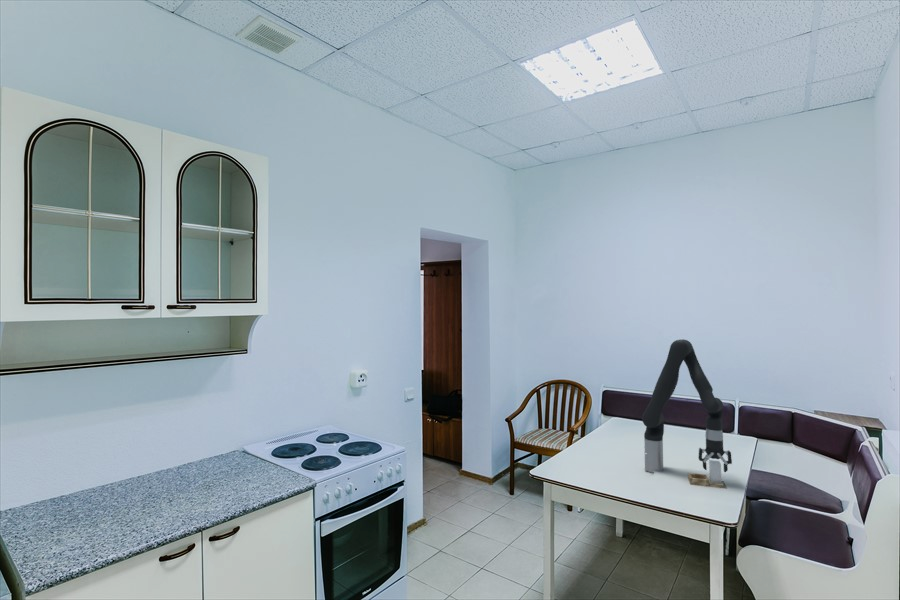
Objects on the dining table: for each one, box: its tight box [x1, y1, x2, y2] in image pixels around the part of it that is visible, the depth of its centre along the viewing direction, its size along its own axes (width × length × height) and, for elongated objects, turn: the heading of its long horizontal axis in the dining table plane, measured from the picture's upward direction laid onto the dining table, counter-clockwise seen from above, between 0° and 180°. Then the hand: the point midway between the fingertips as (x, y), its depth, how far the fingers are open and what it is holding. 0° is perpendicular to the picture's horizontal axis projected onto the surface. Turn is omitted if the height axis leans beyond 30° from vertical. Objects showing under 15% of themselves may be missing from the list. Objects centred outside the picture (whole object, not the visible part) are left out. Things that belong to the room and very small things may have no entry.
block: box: [708, 459, 722, 484], centre depth 224 cm, size 4×4×10 cm
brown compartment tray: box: [687, 472, 728, 490], centre depth 224 cm, size 16×11×4 cm
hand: (715, 470), depth 224 cm, fingers open, 8 cm apart
